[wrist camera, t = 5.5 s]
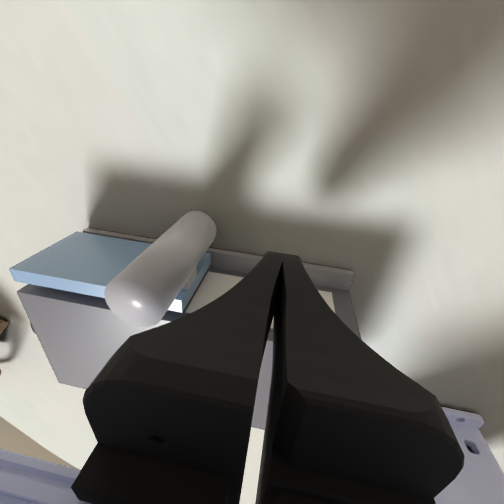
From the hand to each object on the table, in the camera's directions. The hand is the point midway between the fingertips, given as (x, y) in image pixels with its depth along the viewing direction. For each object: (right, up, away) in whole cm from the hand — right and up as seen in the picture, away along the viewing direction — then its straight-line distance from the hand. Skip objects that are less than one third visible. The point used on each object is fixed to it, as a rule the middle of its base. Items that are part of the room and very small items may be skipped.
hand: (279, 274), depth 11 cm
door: (-7, +2, +4) cm, 8 cm away
